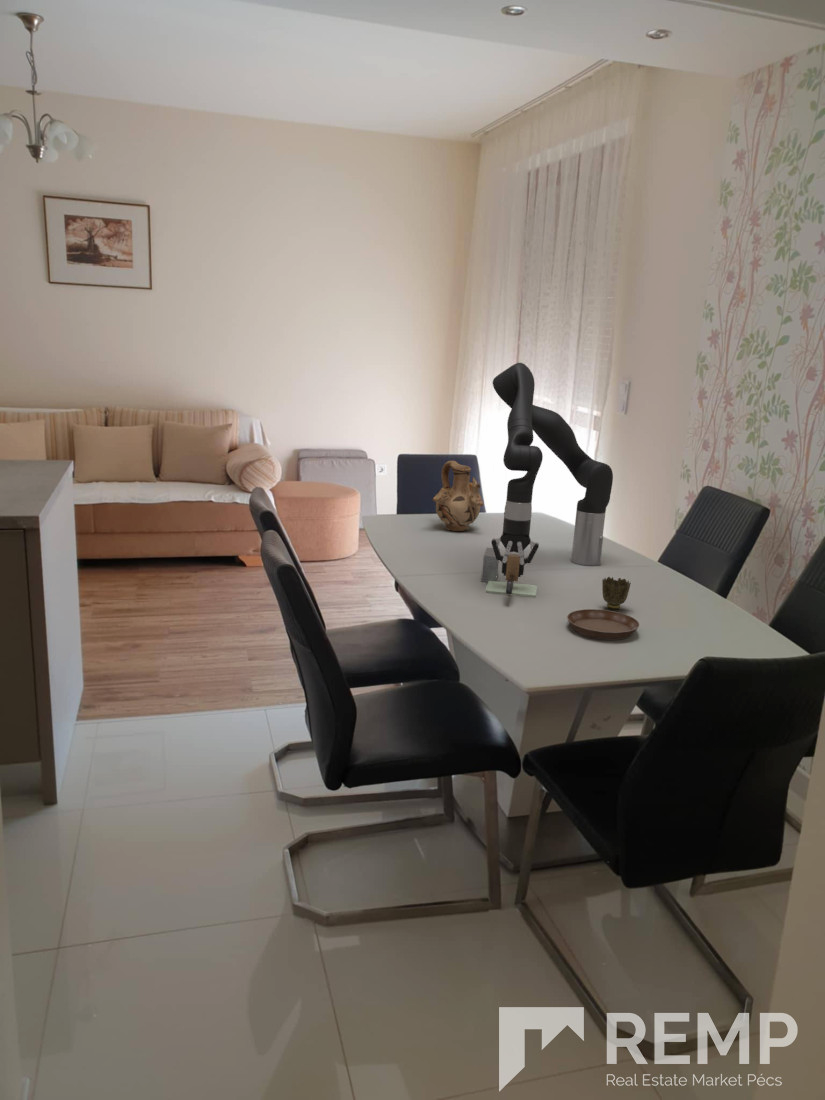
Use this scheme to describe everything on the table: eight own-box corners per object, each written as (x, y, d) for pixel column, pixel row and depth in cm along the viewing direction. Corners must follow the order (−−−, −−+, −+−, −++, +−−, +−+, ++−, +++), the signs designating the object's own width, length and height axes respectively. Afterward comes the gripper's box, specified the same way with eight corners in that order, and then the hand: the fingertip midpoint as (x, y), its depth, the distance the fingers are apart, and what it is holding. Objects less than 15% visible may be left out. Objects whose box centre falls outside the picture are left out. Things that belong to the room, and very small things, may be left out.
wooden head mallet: (506, 577, 240) (508, 553, 239) (518, 578, 240) (520, 554, 238) (502, 593, 224) (504, 568, 222) (515, 594, 223) (517, 569, 221)
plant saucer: (551, 628, 210) (553, 616, 209) (591, 614, 222) (592, 603, 221) (612, 649, 198) (614, 637, 197) (651, 633, 210) (652, 622, 209)
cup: (627, 606, 230) (631, 578, 228) (626, 614, 223) (630, 585, 221) (600, 603, 232) (603, 575, 230) (598, 610, 225) (601, 582, 223)
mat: (536, 587, 243) (536, 585, 243) (535, 597, 233) (535, 595, 233) (488, 582, 245) (488, 580, 245) (485, 592, 235) (485, 590, 235)
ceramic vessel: (430, 533, 302) (435, 464, 296) (432, 521, 321) (436, 456, 314) (480, 536, 302) (486, 467, 295) (479, 525, 320) (485, 460, 314)
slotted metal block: (497, 574, 254) (499, 548, 252) (495, 583, 244) (497, 556, 242) (484, 573, 255) (486, 547, 253) (481, 582, 245) (483, 555, 243)
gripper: (543, 516, 236) (537, 574, 241) (493, 511, 238) (488, 569, 243) (542, 521, 229) (536, 581, 233) (491, 517, 231) (486, 576, 235)
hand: (512, 575), depth 238 cm, fingers closed on wooden head mallet, 3 cm apart
